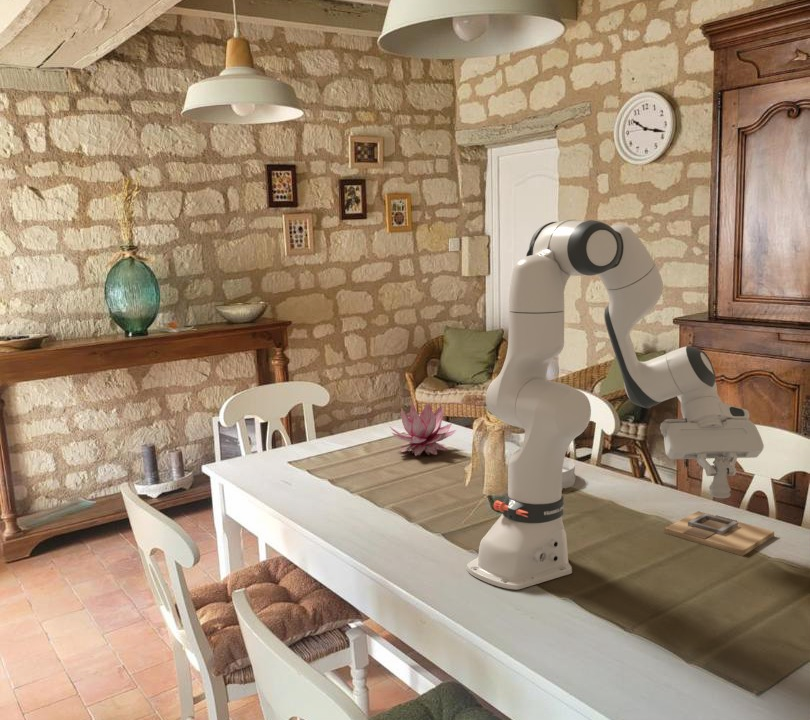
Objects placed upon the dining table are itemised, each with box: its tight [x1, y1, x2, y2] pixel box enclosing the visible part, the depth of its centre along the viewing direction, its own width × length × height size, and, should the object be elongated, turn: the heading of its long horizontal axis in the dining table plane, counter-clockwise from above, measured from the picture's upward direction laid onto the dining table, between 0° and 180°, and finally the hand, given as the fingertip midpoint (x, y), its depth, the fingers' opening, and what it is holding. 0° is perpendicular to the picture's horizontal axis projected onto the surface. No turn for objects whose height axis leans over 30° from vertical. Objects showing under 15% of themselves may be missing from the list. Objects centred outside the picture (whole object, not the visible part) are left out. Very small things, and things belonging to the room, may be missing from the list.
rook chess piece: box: [708, 457, 732, 499], centre depth 157 cm, size 4×4×8 cm
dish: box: [562, 457, 576, 489], centre depth 212 cm, size 22×22×5 cm
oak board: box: [663, 511, 775, 557], centre depth 170 cm, size 16×18×2 cm
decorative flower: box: [389, 402, 457, 456], centre depth 240 cm, size 21×21×15 cm
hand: (721, 474), depth 156 cm, fingers closed on rook chess piece, 3 cm apart
